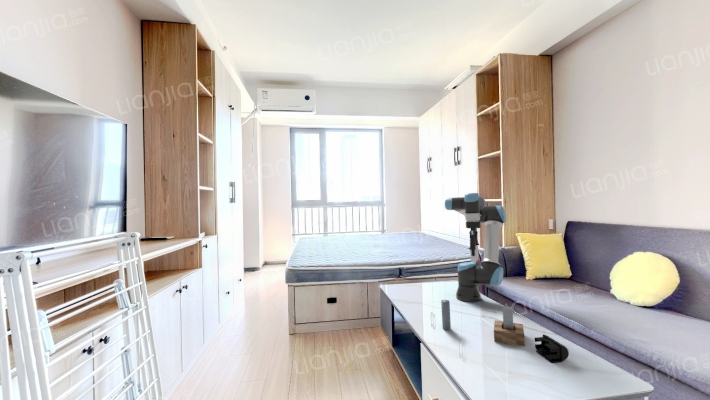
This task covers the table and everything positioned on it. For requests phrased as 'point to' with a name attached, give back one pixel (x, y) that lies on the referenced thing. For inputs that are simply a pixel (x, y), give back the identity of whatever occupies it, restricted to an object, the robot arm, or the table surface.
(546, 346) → the end cap
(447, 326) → the round peg
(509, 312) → the square peg
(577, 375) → the table surface
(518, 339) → the socket block
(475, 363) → the table surface
